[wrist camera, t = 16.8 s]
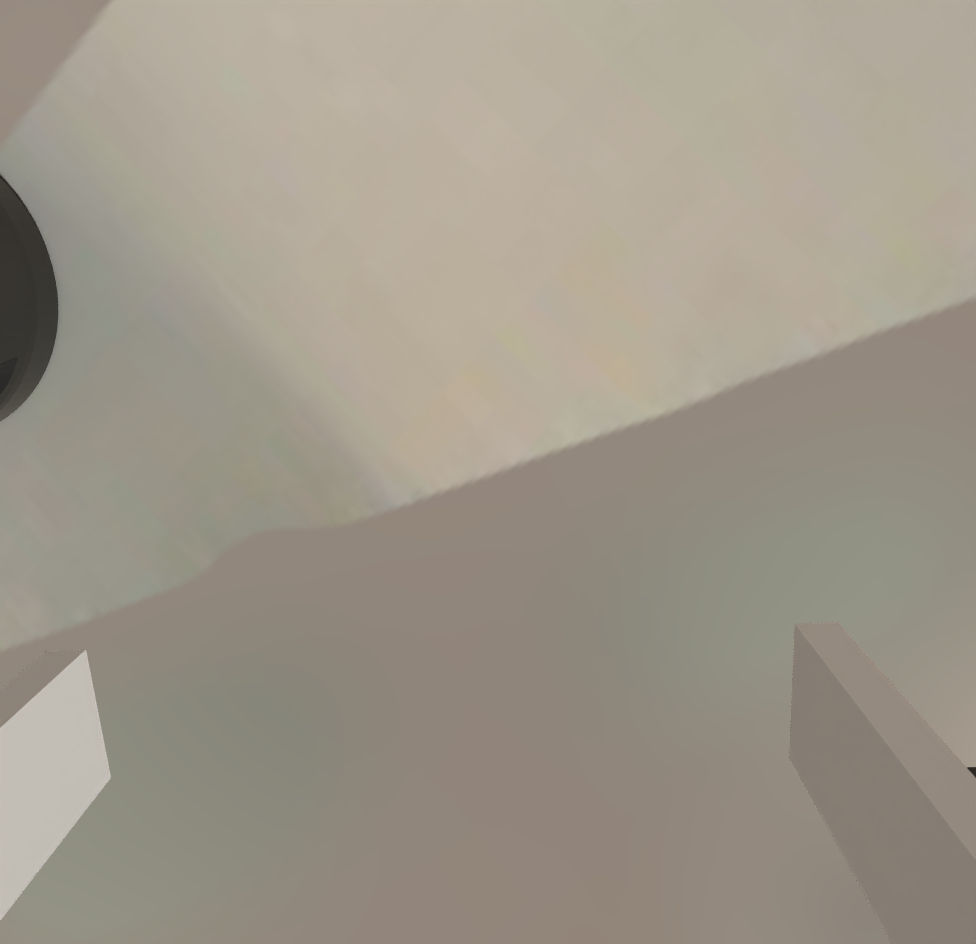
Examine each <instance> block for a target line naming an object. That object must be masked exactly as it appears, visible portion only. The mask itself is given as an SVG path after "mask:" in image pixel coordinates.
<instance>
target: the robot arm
mask: <svg viewBox="0 0 976 944" xmlns="http://www.w3.org/2000/svg"><path fill="white" fill-rule="evenodd" d="M57 324H58V297H57V288H56V281H55V276H54V272H53V268H52V264H51V261H50V257H49V254H48V252H47V249H46V246H45V244H44V241H43V239H42V237H41V235H40V232H39V231H38V229H37V227H36V225H35V223H34V221H33V219H32V218H31V216H30V214H29V213H28V211H27V210H26V208H25V207H24V205H23V204H22V203H21V201H20V200H19V198H18V197H17V196H16V195H15V193H14V192H13V191H12V190H11V189H10V187H9V186H8V185H7V184H6V183H5V182H4V181H3V180H2V179H1V178H0V421H2V420H3V419H5V418H6V417H8V416H9V415H10V414H11V413H13V412H14V411H15V410H16V409H17V408H18V407H19V406H20V405H22V404H23V402H24V401H25V400H26V399H27V398H28V397H29V396H30V394H31V393H32V392H33V390H34V389H35V388H36V386H37V384H38V383H39V381H40V380H41V378H42V376H43V374H44V372H45V370H46V368H47V365H48V363H49V360H50V357H51V354H52V351H53V347H54V343H55V339H56V332H57ZM789 758H790V760H791V762H792V764H793V766H794V767H795V769H796V771H797V773H798V775H799V777H800V779H801V780H802V782H803V784H804V786H805V788H806V790H807V791H808V793H809V795H810V797H811V799H812V800H813V802H814V804H815V806H816V808H817V810H818V811H819V813H820V815H821V817H822V819H823V820H824V822H825V824H826V826H827V828H828V830H829V831H830V833H831V835H832V837H833V839H834V841H835V842H836V844H837V846H838V848H839V850H840V851H841V853H842V855H843V857H844V859H845V861H846V862H847V864H848V866H849V868H850V870H851V872H852V873H853V875H854V877H855V879H856V881H857V882H858V884H859V886H860V888H861V890H862V892H863V893H864V895H865V897H866V899H867V901H868V902H869V904H870V906H871V908H872V910H873V911H874V913H875V915H876V917H877V919H878V921H879V923H880V924H881V926H882V928H883V930H884V932H885V933H886V935H887V937H888V939H889V941H890V943H891V944H976V767H966V766H965V765H964V764H963V763H962V762H961V761H960V760H959V758H958V757H957V756H956V755H955V754H954V753H953V752H952V750H951V749H950V748H949V747H948V746H947V745H946V744H945V743H944V742H943V740H942V739H941V738H940V737H939V736H938V735H937V734H936V733H935V731H934V730H933V729H932V728H931V727H930V726H929V725H928V723H927V722H926V721H925V720H924V719H923V718H922V717H921V715H920V714H919V713H918V712H917V711H916V710H915V709H914V708H913V706H912V705H911V704H910V703H909V702H908V701H907V700H906V698H905V697H904V696H903V695H902V694H901V693H900V692H899V691H898V690H897V689H896V687H895V686H894V685H893V684H892V683H891V682H890V681H889V679H888V678H887V677H886V676H885V675H884V674H883V673H882V671H881V670H880V669H879V668H878V667H877V666H876V665H875V663H874V662H873V661H872V660H871V659H870V658H869V657H868V656H867V655H866V654H865V652H864V651H863V650H862V649H861V648H860V647H859V645H858V644H857V643H856V642H855V641H854V640H853V639H852V638H851V637H850V635H849V634H848V633H847V632H846V631H845V630H844V628H843V627H842V626H841V625H840V624H839V623H838V622H829V623H801V624H795V631H794V655H793V678H792V701H791V724H790V747H789ZM110 778H111V776H110V771H109V766H108V760H107V755H106V750H105V745H104V741H103V735H102V730H101V725H100V720H99V715H98V710H97V704H96V699H95V694H94V689H93V684H92V679H91V673H90V668H89V663H88V658H87V653H86V650H60V651H46V652H44V653H43V654H42V655H41V656H39V657H38V658H37V659H36V660H35V661H34V662H32V663H31V664H30V665H29V666H28V667H26V668H25V669H24V670H23V671H22V672H20V673H19V674H18V675H17V676H16V677H15V678H13V679H12V680H11V681H10V682H9V683H7V684H6V685H5V686H4V687H3V688H2V689H0V920H1V919H2V917H3V916H4V915H5V914H6V912H7V911H8V910H9V908H10V907H11V906H12V905H13V903H14V902H15V901H16V899H17V898H18V897H19V896H20V894H21V893H22V892H23V890H24V889H25V888H26V886H27V885H28V884H29V883H30V881H31V880H32V878H33V877H34V876H35V875H36V874H37V872H38V871H39V870H40V868H41V867H42V866H43V865H44V863H45V862H46V861H47V859H48V858H49V856H50V855H51V854H52V853H53V852H54V850H55V849H56V848H57V846H58V845H59V844H60V843H61V841H62V840H63V838H64V837H65V836H66V835H67V834H68V832H69V831H70V830H71V828H72V827H73V826H74V824H75V823H76V822H77V820H78V819H79V818H80V817H81V815H82V814H83V813H84V812H85V810H86V809H87V808H88V806H89V805H90V804H91V803H92V801H93V800H94V799H95V797H96V796H97V795H98V794H99V792H100V791H101V790H102V788H103V787H104V786H105V784H106V783H107V782H108V780H109V779H110Z"/></svg>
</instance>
